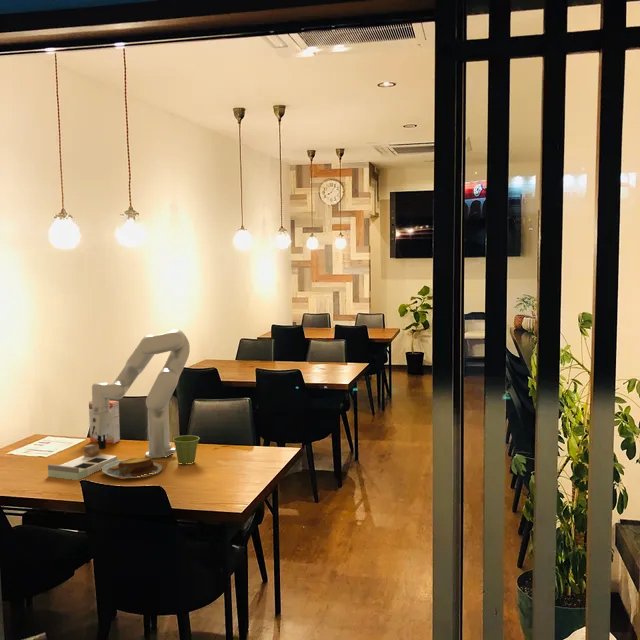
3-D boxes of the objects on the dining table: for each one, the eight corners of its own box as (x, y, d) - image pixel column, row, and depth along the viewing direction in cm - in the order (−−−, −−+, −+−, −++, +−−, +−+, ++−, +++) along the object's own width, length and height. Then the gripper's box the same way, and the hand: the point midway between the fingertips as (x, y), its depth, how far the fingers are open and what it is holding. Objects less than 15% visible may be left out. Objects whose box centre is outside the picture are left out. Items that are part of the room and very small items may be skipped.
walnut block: (99, 454, 300) (98, 445, 299) (92, 457, 295) (92, 447, 295) (90, 454, 301) (90, 444, 301) (84, 456, 297) (83, 446, 297)
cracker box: (89, 442, 334) (88, 401, 332) (96, 439, 339) (95, 399, 338) (113, 444, 330) (112, 402, 328) (120, 441, 335) (119, 400, 334)
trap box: (117, 462, 298) (117, 451, 298) (77, 480, 273) (77, 468, 273) (90, 459, 303) (89, 448, 303) (48, 476, 278) (47, 465, 278)
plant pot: (197, 466, 291) (197, 441, 290) (170, 467, 291) (170, 441, 290) (202, 459, 303) (201, 434, 302) (176, 459, 303) (175, 435, 302)
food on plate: (131, 461, 300) (131, 447, 300) (174, 469, 288) (174, 454, 288) (88, 477, 278) (87, 462, 277) (132, 486, 266) (132, 470, 265)
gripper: (97, 413, 295) (98, 453, 297) (118, 407, 309) (118, 445, 311) (83, 412, 298) (84, 452, 299) (104, 405, 312) (105, 444, 313)
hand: (101, 448), depth 305 cm, fingers closed
